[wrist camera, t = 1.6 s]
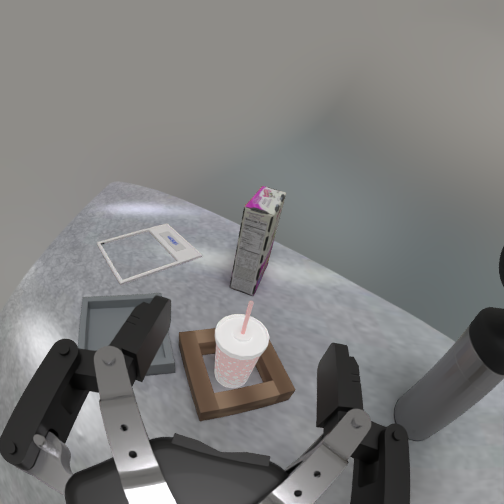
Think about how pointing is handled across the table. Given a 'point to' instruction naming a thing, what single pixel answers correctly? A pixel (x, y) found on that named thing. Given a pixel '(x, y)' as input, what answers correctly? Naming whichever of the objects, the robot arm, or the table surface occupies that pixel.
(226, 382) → the beverage cup
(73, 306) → the table surface
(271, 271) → the table surface
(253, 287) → the candy bar box
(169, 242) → the photo frame
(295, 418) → the table surface
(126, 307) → the tray
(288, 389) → the socket block
